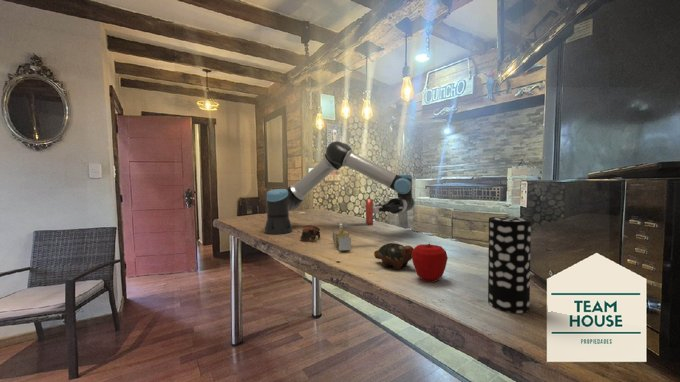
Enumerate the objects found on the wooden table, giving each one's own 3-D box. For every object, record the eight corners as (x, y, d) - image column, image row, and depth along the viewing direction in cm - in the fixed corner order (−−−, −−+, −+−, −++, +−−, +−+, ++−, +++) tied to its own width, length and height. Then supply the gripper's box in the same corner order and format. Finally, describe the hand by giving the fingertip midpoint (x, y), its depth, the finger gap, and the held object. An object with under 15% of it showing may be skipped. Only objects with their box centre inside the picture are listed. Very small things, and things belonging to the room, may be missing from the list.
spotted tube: (514, 296, 72) (515, 216, 71) (538, 312, 63) (540, 221, 62) (481, 297, 71) (481, 216, 70) (501, 314, 63) (502, 222, 62)
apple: (450, 277, 86) (450, 240, 86) (443, 288, 78) (443, 248, 77) (416, 271, 91) (416, 237, 91) (407, 281, 83) (407, 244, 82)
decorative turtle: (410, 274, 89) (408, 248, 89) (368, 269, 98) (365, 245, 98) (422, 264, 97) (420, 241, 96) (382, 260, 106) (380, 238, 106)
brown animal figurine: (295, 240, 141) (300, 225, 144) (312, 247, 145) (317, 231, 148) (306, 238, 131) (311, 221, 134) (324, 245, 135) (328, 228, 138)
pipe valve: (332, 242, 134) (331, 224, 133) (344, 241, 135) (343, 223, 134) (338, 253, 115) (337, 232, 115) (352, 252, 116) (351, 231, 115)
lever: (338, 227, 123) (338, 200, 122) (337, 226, 126) (337, 200, 125) (373, 225, 125) (373, 199, 124) (372, 224, 128) (371, 199, 127)
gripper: (409, 213, 144) (387, 220, 125) (385, 212, 151) (361, 217, 132) (409, 198, 143) (387, 202, 124) (385, 197, 151) (361, 201, 132)
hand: (373, 210), depth 128 cm, fingers closed
